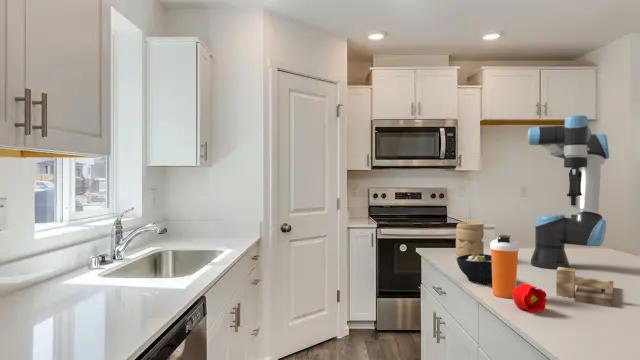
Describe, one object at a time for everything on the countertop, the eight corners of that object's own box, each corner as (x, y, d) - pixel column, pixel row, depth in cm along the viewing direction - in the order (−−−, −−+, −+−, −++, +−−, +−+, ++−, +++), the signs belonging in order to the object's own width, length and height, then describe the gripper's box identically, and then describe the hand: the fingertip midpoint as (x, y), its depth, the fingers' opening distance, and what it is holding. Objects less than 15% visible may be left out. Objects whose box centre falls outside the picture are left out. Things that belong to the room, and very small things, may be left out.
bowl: (504, 278, 167) (504, 253, 167) (503, 288, 151) (503, 260, 151) (459, 273, 174) (459, 249, 174) (453, 283, 158) (454, 256, 158)
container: (457, 262, 198) (458, 224, 198) (453, 257, 210) (454, 221, 210) (486, 263, 196) (486, 224, 196) (480, 258, 208) (480, 221, 208)
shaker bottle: (517, 293, 145) (517, 235, 145) (520, 300, 137) (520, 238, 137) (489, 290, 148) (489, 233, 148) (490, 297, 140) (491, 237, 140)
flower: (532, 287, 133) (551, 293, 125) (523, 310, 132) (542, 318, 124) (512, 278, 131) (530, 283, 123) (503, 301, 130) (521, 308, 123)
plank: (574, 301, 136) (574, 293, 136) (580, 283, 159) (580, 277, 159) (612, 307, 130) (612, 299, 130) (613, 288, 153) (613, 281, 153)
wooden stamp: (556, 296, 142) (556, 269, 142) (558, 292, 146) (558, 266, 146) (608, 303, 134) (608, 275, 133) (608, 300, 138) (609, 272, 138)
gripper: (585, 154, 146) (584, 216, 146) (589, 158, 167) (588, 212, 167) (560, 155, 151) (559, 214, 150) (567, 159, 171) (566, 211, 171)
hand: (574, 213), depth 159 cm, fingers open, 13 cm apart
